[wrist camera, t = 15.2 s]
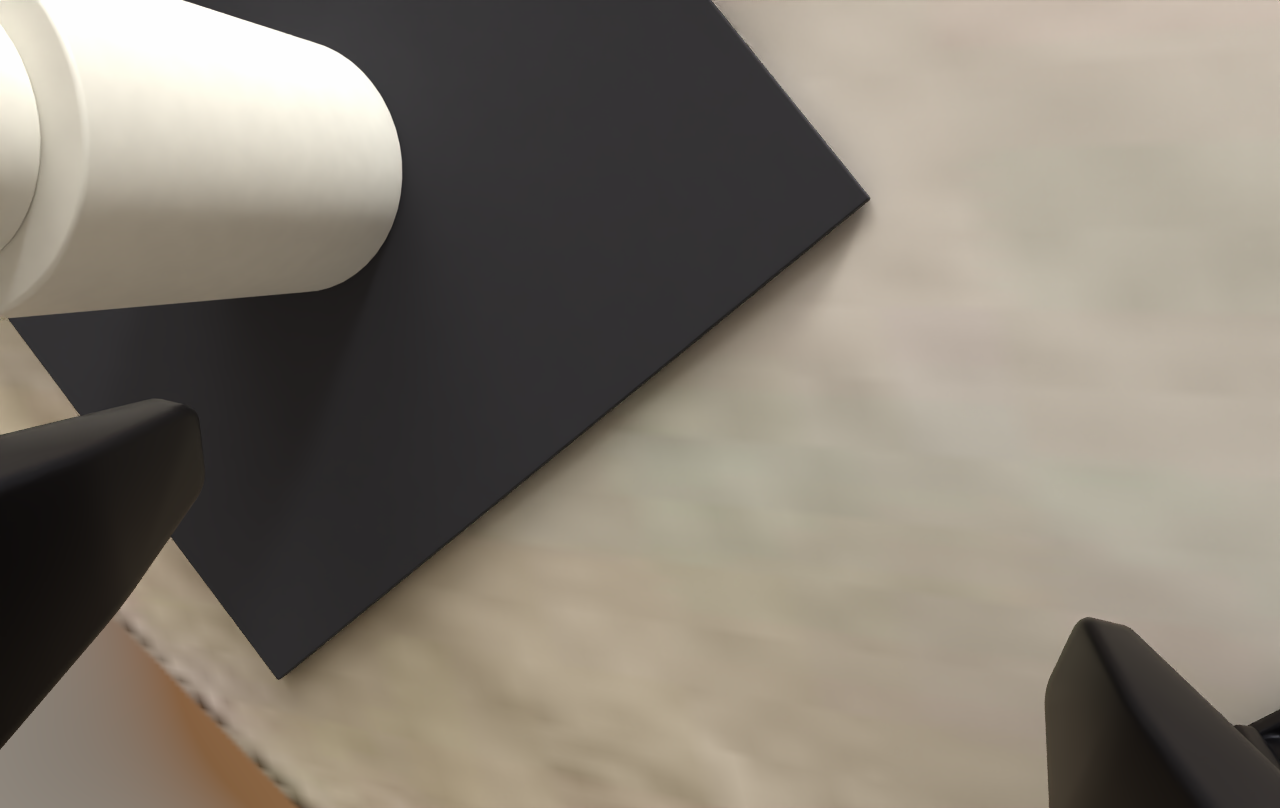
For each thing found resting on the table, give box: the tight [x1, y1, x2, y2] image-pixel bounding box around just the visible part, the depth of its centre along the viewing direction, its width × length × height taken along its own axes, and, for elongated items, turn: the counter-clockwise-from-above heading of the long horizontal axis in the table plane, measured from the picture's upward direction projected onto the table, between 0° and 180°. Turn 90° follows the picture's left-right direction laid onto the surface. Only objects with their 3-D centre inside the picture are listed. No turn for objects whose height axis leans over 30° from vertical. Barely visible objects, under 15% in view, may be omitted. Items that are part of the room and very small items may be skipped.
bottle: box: [0, 0, 402, 319], centre depth 17 cm, size 6×6×12 cm
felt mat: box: [8, 0, 870, 680], centre depth 23 cm, size 15×20×1 cm
